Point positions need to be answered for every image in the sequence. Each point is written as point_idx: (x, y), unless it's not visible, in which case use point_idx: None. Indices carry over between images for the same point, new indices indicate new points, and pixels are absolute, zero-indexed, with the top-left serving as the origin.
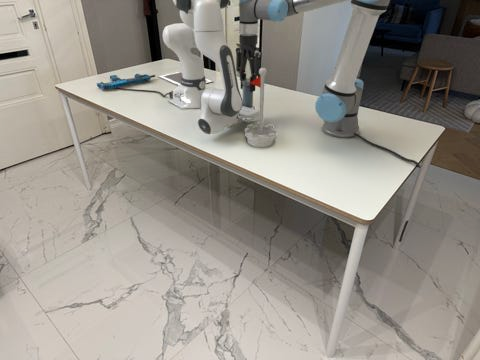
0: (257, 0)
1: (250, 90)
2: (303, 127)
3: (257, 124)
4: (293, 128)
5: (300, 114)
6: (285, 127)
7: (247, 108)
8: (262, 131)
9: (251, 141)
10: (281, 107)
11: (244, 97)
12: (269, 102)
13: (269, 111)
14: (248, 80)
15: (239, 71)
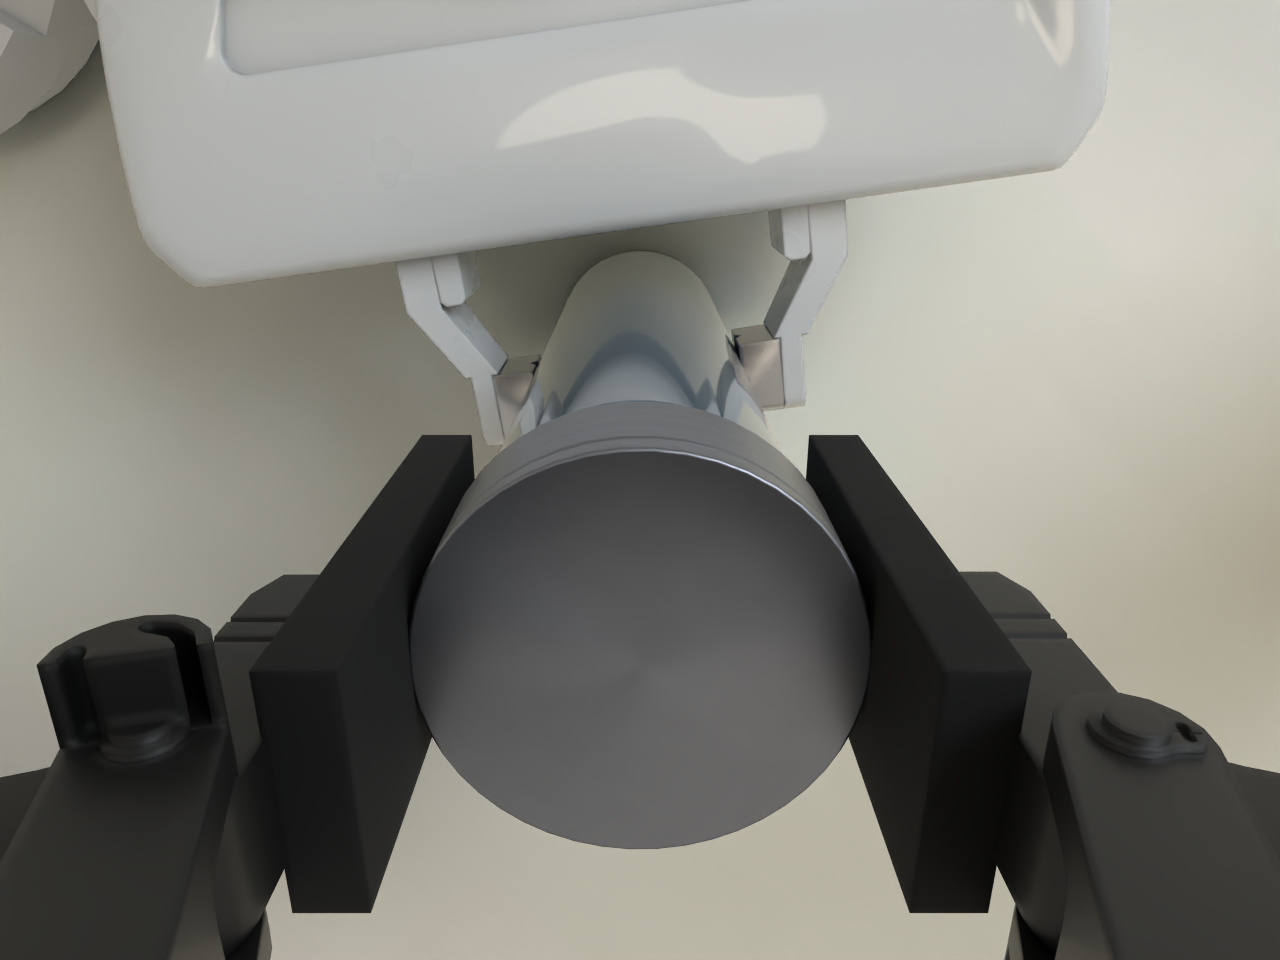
0: None
1: (433, 450)
2: (5, 680)
3: (15, 24)
4: (45, 579)
5: (332, 913)
6: (125, 532)
7: (405, 180)
8: None
9: None
10: (640, 919)
11: (621, 329)
12: (861, 935)
13: None
14: (586, 648)
15: (1198, 763)
